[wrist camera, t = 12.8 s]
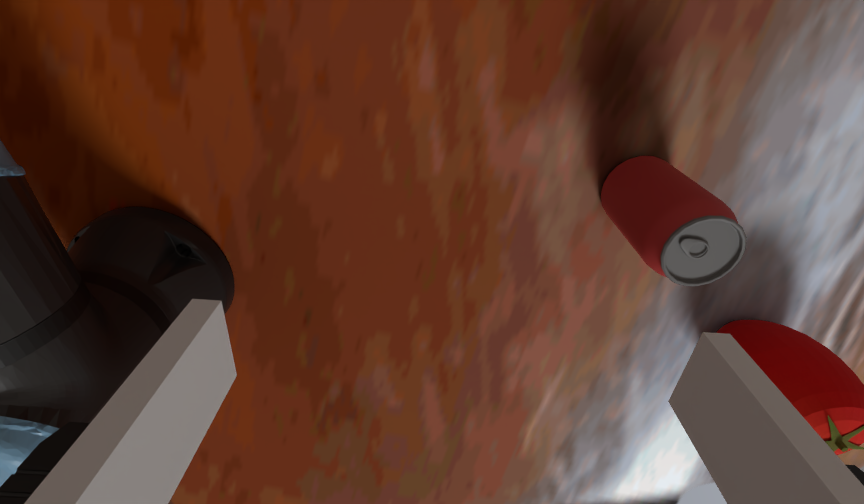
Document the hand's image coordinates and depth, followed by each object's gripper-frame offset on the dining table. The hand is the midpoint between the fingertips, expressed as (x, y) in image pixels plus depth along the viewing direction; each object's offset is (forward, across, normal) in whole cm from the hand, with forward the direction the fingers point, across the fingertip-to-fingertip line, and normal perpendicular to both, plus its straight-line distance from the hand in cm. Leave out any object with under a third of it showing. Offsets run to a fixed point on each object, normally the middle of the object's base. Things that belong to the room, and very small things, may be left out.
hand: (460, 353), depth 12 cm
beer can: (+29, +18, -5) cm, 34 cm away
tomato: (+29, +35, -22) cm, 50 cm away
